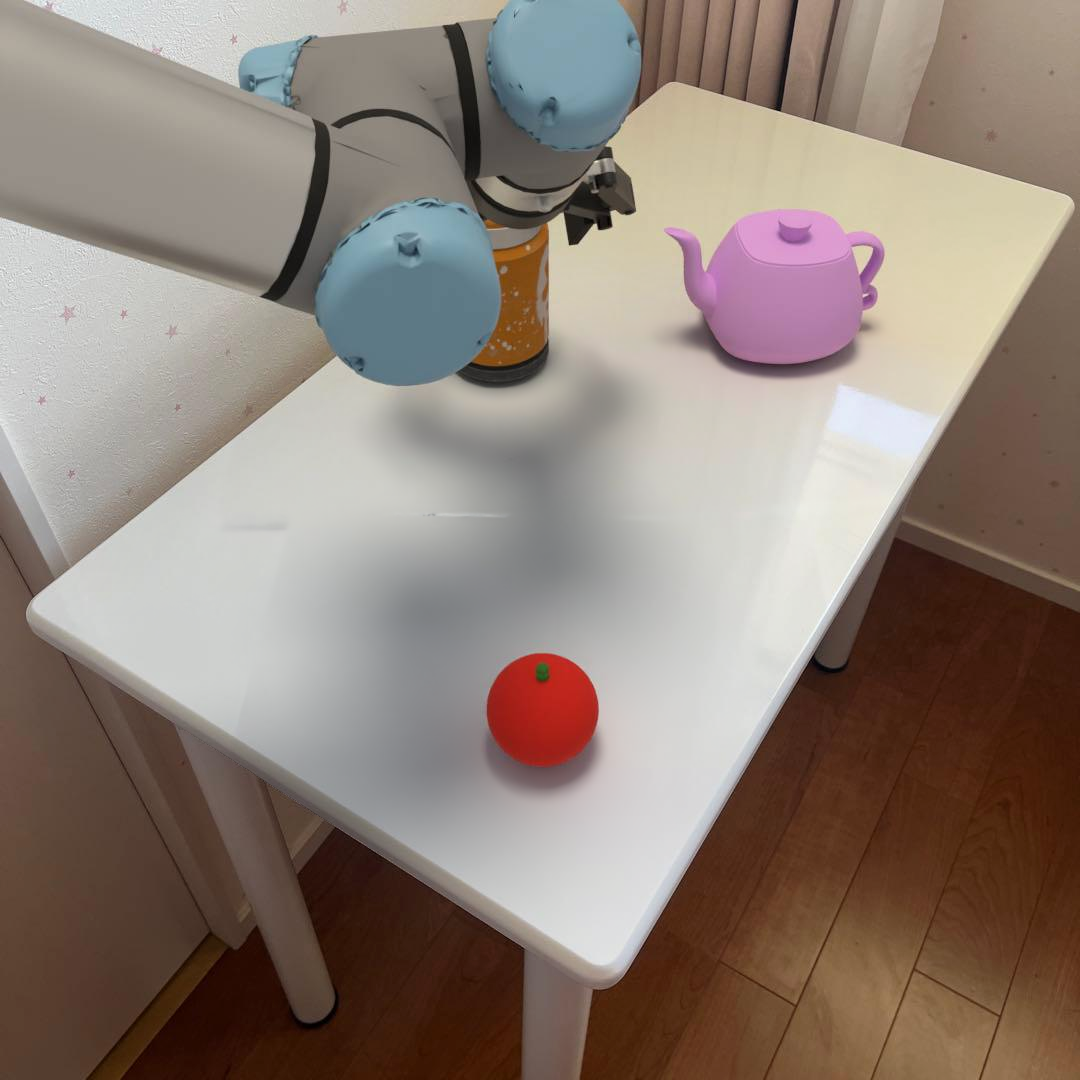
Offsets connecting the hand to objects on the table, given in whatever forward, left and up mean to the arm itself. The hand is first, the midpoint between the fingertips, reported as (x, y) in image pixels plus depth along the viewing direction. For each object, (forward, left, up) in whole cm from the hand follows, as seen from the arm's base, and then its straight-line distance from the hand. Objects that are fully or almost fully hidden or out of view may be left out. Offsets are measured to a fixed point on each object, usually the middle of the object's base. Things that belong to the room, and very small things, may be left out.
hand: (487, 239), depth 88 cm
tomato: (+5, -38, -13) cm, 41 cm away
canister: (-1, +2, -13) cm, 13 cm away
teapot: (+24, +6, -13) cm, 28 cm away
